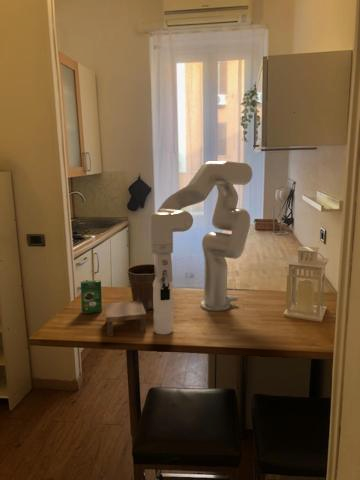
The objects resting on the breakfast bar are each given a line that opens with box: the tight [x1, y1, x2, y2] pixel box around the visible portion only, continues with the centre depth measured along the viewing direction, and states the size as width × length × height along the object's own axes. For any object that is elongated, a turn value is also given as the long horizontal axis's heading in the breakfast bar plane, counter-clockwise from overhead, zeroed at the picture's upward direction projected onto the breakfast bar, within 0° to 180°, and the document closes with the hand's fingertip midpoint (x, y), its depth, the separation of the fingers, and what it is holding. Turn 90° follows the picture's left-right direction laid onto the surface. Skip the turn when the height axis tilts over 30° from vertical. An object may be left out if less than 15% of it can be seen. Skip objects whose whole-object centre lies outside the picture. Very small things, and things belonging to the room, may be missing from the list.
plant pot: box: [126, 263, 155, 311], centre depth 161 cm, size 16×16×16 cm
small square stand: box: [104, 300, 147, 337], centre depth 141 cm, size 14×14×7 cm
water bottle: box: [152, 277, 174, 335], centre depth 135 cm, size 7×7×25 cm
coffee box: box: [80, 279, 103, 315], centre depth 155 cm, size 8×3×13 cm, turn 110°
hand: (162, 295), depth 135 cm, fingers open, 9 cm apart
